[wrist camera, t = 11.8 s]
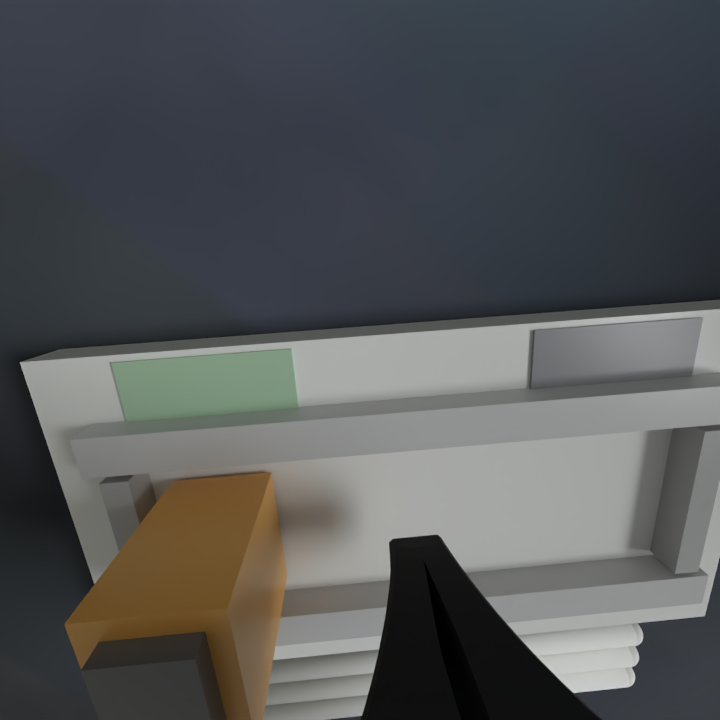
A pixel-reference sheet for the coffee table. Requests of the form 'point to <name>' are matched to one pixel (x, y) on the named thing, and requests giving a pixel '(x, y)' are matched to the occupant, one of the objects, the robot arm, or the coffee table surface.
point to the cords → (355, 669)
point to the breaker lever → (188, 607)
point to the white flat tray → (422, 457)
